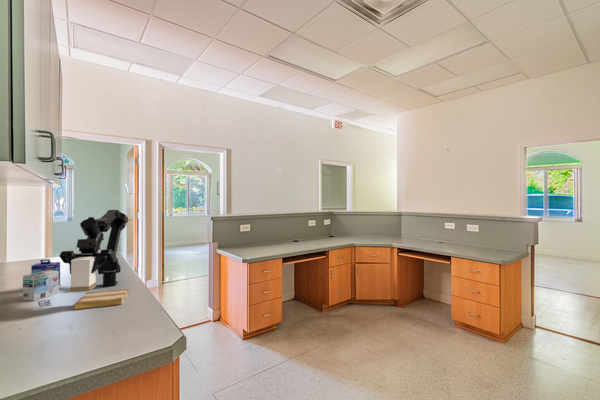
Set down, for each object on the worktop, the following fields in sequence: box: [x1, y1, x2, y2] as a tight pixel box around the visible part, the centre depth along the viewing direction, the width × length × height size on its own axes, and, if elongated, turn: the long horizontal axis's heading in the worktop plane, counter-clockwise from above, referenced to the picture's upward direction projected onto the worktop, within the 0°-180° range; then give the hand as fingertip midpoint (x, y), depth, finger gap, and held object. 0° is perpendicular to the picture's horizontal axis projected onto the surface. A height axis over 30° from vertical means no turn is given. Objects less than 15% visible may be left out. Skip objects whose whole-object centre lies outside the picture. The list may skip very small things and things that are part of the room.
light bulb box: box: [22, 270, 60, 302], centre depth 127 cm, size 11×7×11 cm, turn 168°
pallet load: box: [69, 257, 97, 293], centre depth 118 cm, size 6×6×13 cm
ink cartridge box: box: [30, 259, 61, 287], centre depth 140 cm, size 10×6×14 cm, turn 112°
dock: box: [74, 288, 129, 310], centre depth 122 cm, size 14×16×2 cm
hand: (81, 273), depth 116 cm, fingers closed on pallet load, 7 cm apart
